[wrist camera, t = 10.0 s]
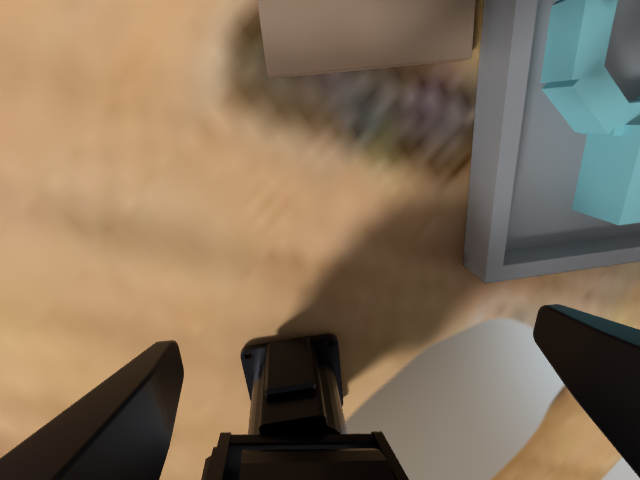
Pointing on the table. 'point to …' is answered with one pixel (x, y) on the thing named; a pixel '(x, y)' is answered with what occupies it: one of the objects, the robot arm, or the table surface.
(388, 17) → the ring
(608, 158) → the ring
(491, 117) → the tray
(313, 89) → the table surface
